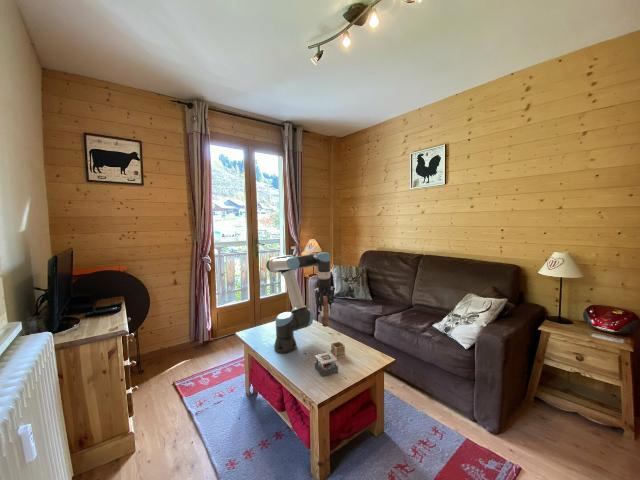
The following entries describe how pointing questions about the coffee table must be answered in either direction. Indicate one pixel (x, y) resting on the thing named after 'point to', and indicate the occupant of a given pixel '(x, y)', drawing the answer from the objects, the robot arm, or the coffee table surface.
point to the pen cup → (338, 349)
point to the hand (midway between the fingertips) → (325, 315)
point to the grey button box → (326, 369)
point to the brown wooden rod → (325, 311)
